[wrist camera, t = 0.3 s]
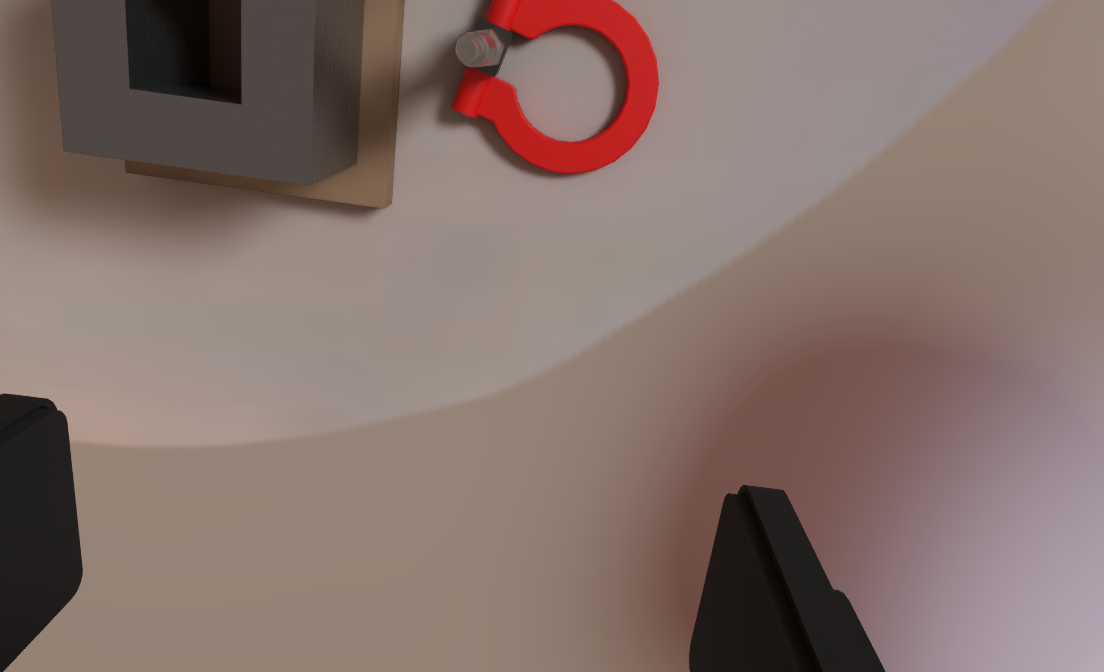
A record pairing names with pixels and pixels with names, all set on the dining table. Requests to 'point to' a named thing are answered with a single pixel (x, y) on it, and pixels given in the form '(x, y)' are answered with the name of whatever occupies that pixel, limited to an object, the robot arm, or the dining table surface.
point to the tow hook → (530, 10)
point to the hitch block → (213, 86)
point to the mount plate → (376, 115)
